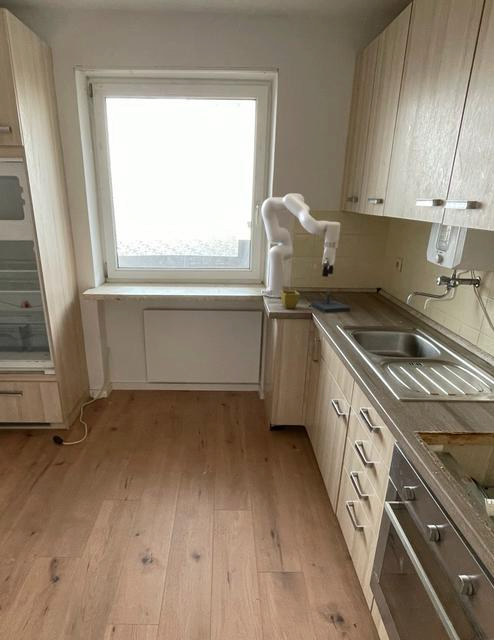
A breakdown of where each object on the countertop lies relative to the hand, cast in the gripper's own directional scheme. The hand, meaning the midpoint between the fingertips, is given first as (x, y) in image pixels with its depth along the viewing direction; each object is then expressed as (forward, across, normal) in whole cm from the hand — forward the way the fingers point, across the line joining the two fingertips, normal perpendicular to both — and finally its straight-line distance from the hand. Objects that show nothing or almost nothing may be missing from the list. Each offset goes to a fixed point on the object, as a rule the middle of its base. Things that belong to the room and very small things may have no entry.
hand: (327, 275), depth 242 cm
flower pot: (+18, +16, -16) cm, 29 cm away
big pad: (+18, +4, +5) cm, 19 cm away
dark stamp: (+18, +1, +2) cm, 18 cm away
